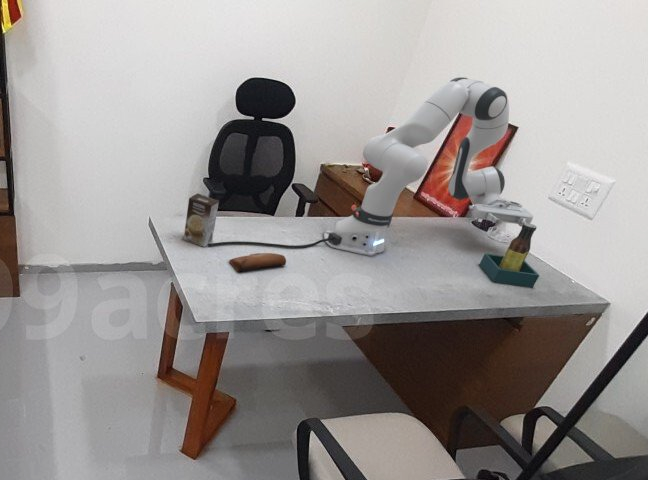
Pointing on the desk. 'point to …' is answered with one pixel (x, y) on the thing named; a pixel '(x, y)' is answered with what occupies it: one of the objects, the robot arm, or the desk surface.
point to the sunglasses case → (257, 261)
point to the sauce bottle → (518, 249)
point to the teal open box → (508, 272)
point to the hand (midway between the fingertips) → (510, 223)
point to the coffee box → (200, 219)
